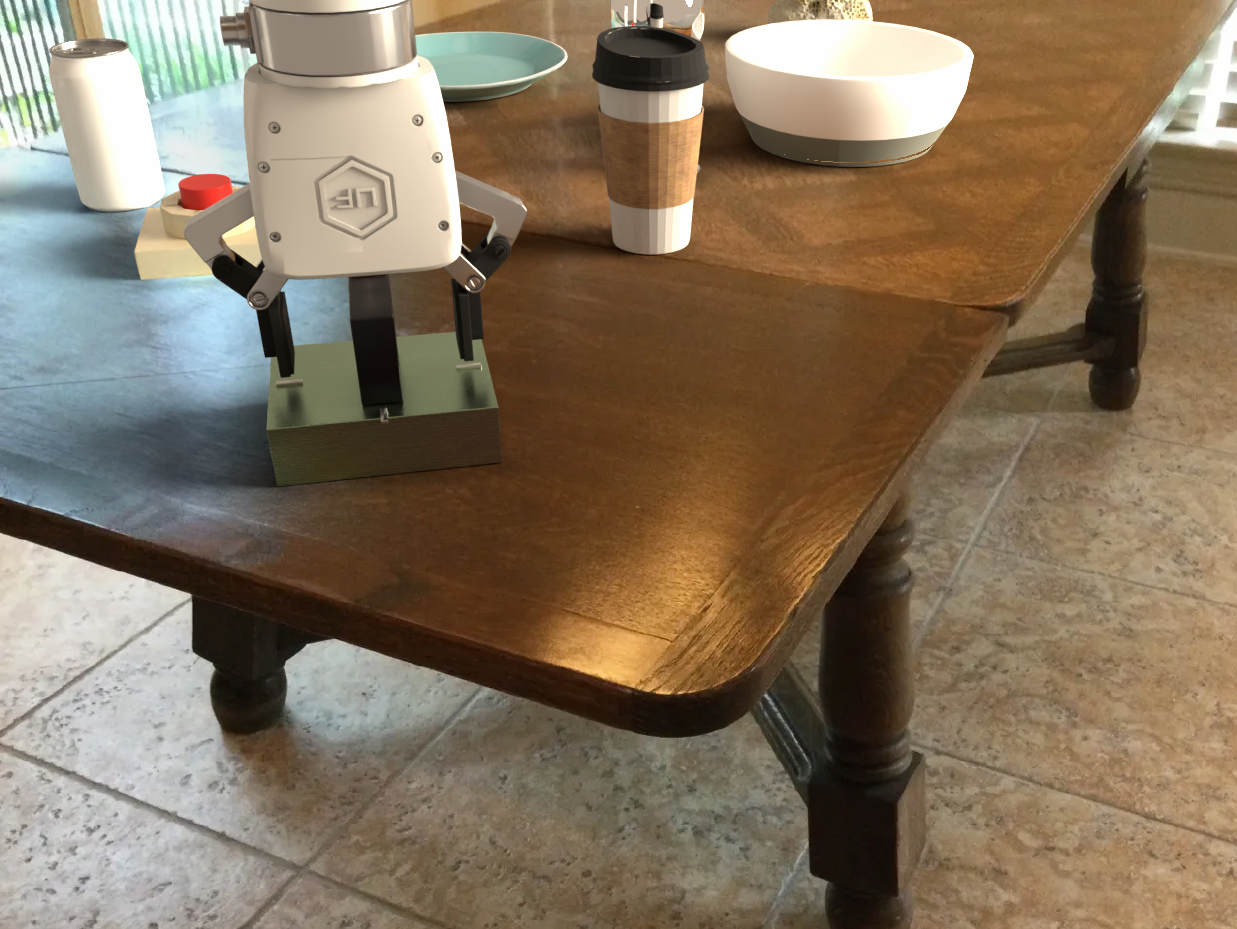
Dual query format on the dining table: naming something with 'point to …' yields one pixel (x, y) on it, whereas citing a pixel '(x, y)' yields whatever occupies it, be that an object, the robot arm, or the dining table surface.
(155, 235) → the box
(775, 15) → the decorative item
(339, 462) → the green lever base box
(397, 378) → the black rectangular case
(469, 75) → the plate
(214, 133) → the dining table surface
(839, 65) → the bowl
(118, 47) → the can
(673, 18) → the wineglass
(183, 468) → the dining table surface
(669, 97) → the coffee cup
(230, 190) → the release button
